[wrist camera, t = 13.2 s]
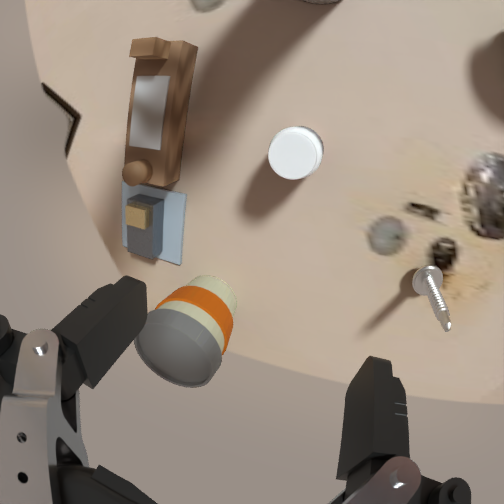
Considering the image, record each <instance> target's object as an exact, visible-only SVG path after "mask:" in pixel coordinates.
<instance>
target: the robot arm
mask: <svg viewBox="0 0 504 504" xmlns="http://www.w3.org/2000/svg"><path fill="white" fill-rule="evenodd" d="M304 1H306V2H310V3H316V4H329V3H333V2H337V1H339V0H304ZM146 320H147V292H146V284H145V283H144V282H142V281H140V280H137V279H135V278H132V277H130V276H124V277H122V278H121V279H120V280H119V281H118V282H117V283H115V284H114V285H113V284H108V285H106V286H104V287H101V288H99V289H97V290H96V291H95V292H94V293H92V294H91V295H90V296H89V297H88V299H85V300H84V301H83V302H82V303H81V305H79V306H77V308H75V309H74V310H73V311H72V312H71V313H70V314H69V315H67V316H66V317H65V318H64V319H63V320H62V321H61V322H60V323H59V324H57V325H56V326H55V327H54V328H53V329H52V330H48V329H36V330H33V331H31V332H30V333H28V334H26V333H23V332H20V331H17V330H13V329H11V327H10V325H9V322H8V320H7V318H6V317H5V316H3V315H0V504H157V503H156V502H155V501H153V500H152V499H151V498H149V497H148V496H147V495H146V494H144V493H143V492H142V491H141V490H139V489H138V488H137V487H136V486H135V485H133V484H132V483H130V482H129V481H127V480H125V479H123V478H121V477H120V476H117V475H116V474H114V473H113V472H111V471H109V470H107V469H106V468H104V467H102V466H101V465H99V466H98V467H97V469H94V468H90V467H89V463H88V456H87V452H86V449H85V446H84V443H83V440H82V435H81V421H80V398H79V387H80V386H81V385H82V384H83V383H84V384H85V385H87V386H88V387H90V388H92V389H94V387H95V386H96V385H97V384H98V382H99V381H100V380H101V378H102V377H103V376H104V375H105V374H106V373H107V371H108V370H109V369H110V368H111V366H112V365H113V364H114V363H115V362H116V360H117V359H118V358H119V357H120V355H121V354H122V353H123V352H124V351H125V349H126V348H127V347H128V346H129V345H130V343H131V342H132V341H133V340H134V339H135V337H136V336H137V335H138V334H139V333H140V332H141V330H142V329H143V327H144V326H145V323H146ZM336 479H339V480H346V481H347V483H346V488H345V489H344V490H343V491H341V492H340V493H339V494H338V495H337V496H336V497H335V498H334V499H332V501H330V502H329V503H328V504H471V491H470V487H469V486H468V484H467V482H466V481H464V480H463V479H461V478H451V479H449V480H448V481H446V482H444V483H440V482H438V481H435V480H432V479H429V478H427V477H424V476H422V475H421V472H420V469H419V467H418V466H417V464H416V463H415V462H414V461H413V460H411V459H410V454H409V430H408V417H407V406H406V393H405V389H404V387H403V385H402V383H401V381H400V379H399V378H396V377H393V374H392V364H391V361H389V360H386V359H381V358H377V357H373V356H369V357H368V358H367V359H366V360H365V362H364V363H363V365H362V367H361V368H360V370H359V371H358V372H357V374H356V375H355V377H354V378H353V380H352V381H351V383H350V385H349V387H348V390H347V393H346V397H345V409H344V420H343V430H342V440H341V448H340V455H339V463H338V470H337V476H336Z"/></svg>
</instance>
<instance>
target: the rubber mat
mask: <svg viewBox="0 0 504 504" xmlns="http://www.w3.org/2000/svg"><path fill="white" fill-rule="evenodd" d="M137 194H142V195H147V196H151V197H156V198H160V199H164V200H165V202H164V222H163V251H162V252H161V253H160V254H159V255H157V256H156V257H157V258H160V259H163V260H166V261H169V262H172V263H175V264H178V265H181V264H182V247H183V233H184V220H185V208H186V197H187V194H183V193H179V192H174V191H170V190H165V189H161V188H156V187H152V186H147V185H143V184H139V185H136V186H133V187H132V186H129V185H127V184H126V183H125V181H122V241H123V246H124V247H127V224H126V215H125V205H127V199H128V198H130V197H132V196H135V195H137Z"/></svg>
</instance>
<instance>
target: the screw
mask: <svg viewBox="0 0 504 504" xmlns="http://www.w3.org/2000/svg"><path fill="white" fill-rule="evenodd" d="M442 281H443V275H442V272H441V270H440V269H439V268H438V267H437V266H435V265H425V266H422V267H421V268H419V269H418V270H417V271H416V272H415V274H414V276H413V279H412V286H413V288H414V290H415V292H416V293H418V294H420V295H424V296H425V295H427V296H428V298H429V301H430V303H431V306H432V308H433V311H434V314H435V316H436V317H437V320H439V321H440V323H441V326H442V327H443V329H444V331H445V332H448V331H450V330H451V328H450V326H451V320H450V317H449V316H450V314H449V310H448V307H447V306H446V303H445V301H444V299H443V296H442V294H441V293H440V291H439V288H440V286H441V284H442Z"/></svg>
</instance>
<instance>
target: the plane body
mask: <svg viewBox="0 0 504 504" xmlns="http://www.w3.org/2000/svg"><path fill="white" fill-rule="evenodd" d="M197 51H198V47H197V46H194V45H192V44H190V43H187V42H185V41H166V40H163V39H160V38H157V37H151V38H141V39H133V40H132V45H131V50H130V55H129V57H134V58H136V62H135V68H134V74H133V81H132V88H131V95H130V103H129V112H128V122H127V134H126V147H125V165H124V168H123V171H122V176H123V179H124V181H125V183H126V184H127V185H129V186H132V187H133V186H136V185H139V184H141V183H149V184H154V185H158V186H163V187H164V186H166V185H168V184H170V183H173V182H175V181H177V180H179V176H180V166H181V157H182V148H183V140H184V132H185V124H186V117H187V110H188V103H189V97H190V90H191V84H192V78H193V72H194V67H195V61H196V56H197Z"/></svg>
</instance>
